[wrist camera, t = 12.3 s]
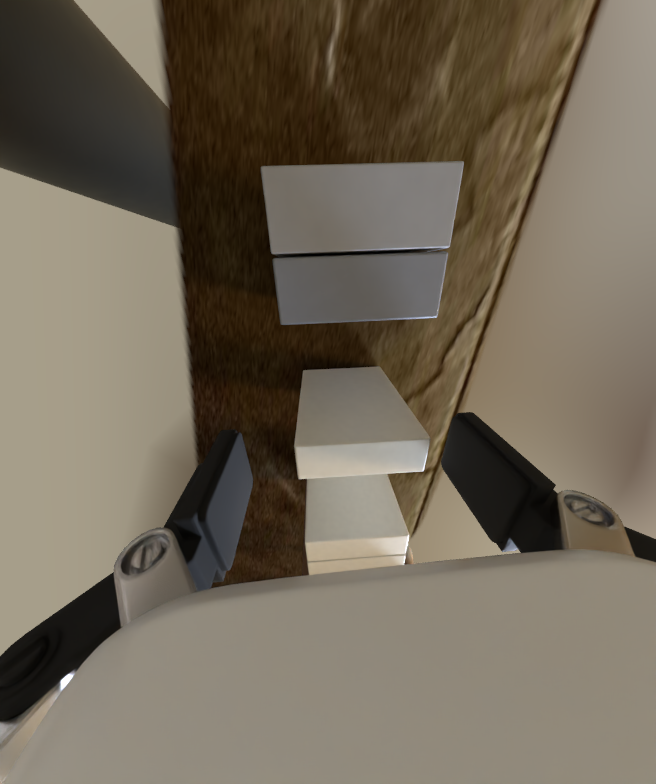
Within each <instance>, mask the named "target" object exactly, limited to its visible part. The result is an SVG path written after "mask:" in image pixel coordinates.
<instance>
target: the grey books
mask: <svg viewBox="0 0 656 784" xmlns="http://www.w3.org/2000/svg"><path fill="white" fill-rule="evenodd" d="M463 166H464V162H463V161H447V162H408V163H368V164H328V165H289V166H262V167H261V175H262V183H263V191H264V199H265V207H266V215H267V223H268V231H269V239H270V247H271V253H272V254H273V255H276V256H278V257H280V258H274V259H273V261H272V262H273V270H274V278H275V286H276V294H277V302H278V310H279V318H280V323H281V324H282V325H293V324H314V323H336V322H357V321H379V320H401V319H422V318H436V317H437V316H438V310H439V304H440V298H441V292H442V287H443V281H444V275H445V269H446V263H447V257H448V253H447V252H446V251H444V252H429V251H434V250H439V249H444V248H448V247H450V242H451V236H452V230H453V225H454V219H455V213H456V207H457V201H458V195H459V189H460V183H461V177H462V171H463Z"/></svg>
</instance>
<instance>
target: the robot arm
mask: <svg viewBox="0 0 656 784" xmlns="http://www.w3.org/2000/svg"><path fill="white" fill-rule="evenodd" d="M441 465H442V468H443V470H444V471H445V473H446V474H447V475H448V477H449V479H450V480H451V482H452V483H453V485H454V486H455V488H456V489H457V491H458V492H459V494H460V495H461V497H462V498H463V500H464V501H465V502H466V504H467V506H468V507H469V509H470V510H471V512H472V513H473V515H474V516H475V517H476V519H477V520H478V522H479V523H480V525H481V526H482V528H483V529H484V531H485V532H486V534H487V535H488V537H489V538H490V539H491V540H492V541H493V542H494V543H496V544H497V545H498V547H499V548H500V549H501V551H502V552H506V551H516V550H517V548H518V549H519V551H520V552H521V553H515V554H505V555H495V556H485V557H476V558H466V559H456V560H445V561H435V562H427V563H416V564H407V565H397V566H388V567H379V568H369V569H360V570H351V571H342V572H333V573H324V574H315V575H306V576H297V577H288V578H279V579H272V580H264V581H256V582H249V583H241V584H233V585H227V586H222V587H217V588H211V586H212V582H221V581H223V580H224V577H225V573H226V570H230V569H231V567H232V564H233V560H234V556H235V552H236V548H237V544H238V540H239V536H240V532H241V528H242V525H243V521H244V517H245V513H246V509H247V505H248V501H249V497H250V493H251V489H252V485H253V477H252V473H251V469H250V465H249V461H248V457H247V454H246V450H245V446H244V442H243V438H242V435H241V433H240V432H239V433H237V431H236V430H235V429H234V430H222V431H220V433H219V434H218V436H217V438H216V440H215V442H214V444H213V446H212V447H211V449H210V451H209V453H208V455H207V457H206V459H205V460H204V462H203V463H201V464H200V465H198V467H197V468H196V470H195V472H194V474H193V476H192V477H191V479H190V481H189V483H188V484H187V486H186V488H185V490H184V492H183V494H182V495H181V497H180V499H179V501H178V502H177V504H176V506H175V508H174V510H173V511H172V513H171V515H170V517H169V519H168V520H167V522H166V524H165V526H164V528H155V529H152V530H149V531H147V532H145V533H143V534H141V535H140V536H138V537H137V538H135V539H134V540H132V541H131V542H130V543H129V544H128V545H127V546H126V547H125V548H124V549H123V551H122V552H121V553H120V555H119V556H118V558H117V560H116V562H115V565H114V572H113V573H112V574H110V575H109V576H107V577H106V578H104V579H103V580H102V581H100V582H99V583H97V584H96V585H95V586H93V587H92V588H90V589H89V590H88V591H86V592H85V593H83V594H82V595H80V596H79V597H77V598H76V599H75V600H73V601H72V602H70V603H69V604H68V605H66V606H65V607H63V608H62V609H60V610H59V611H58V612H56V613H55V614H53V615H52V616H51V617H49V618H48V619H46V620H45V621H43V622H42V623H40V624H39V625H38V626H36V627H35V628H34V629H32V630H31V631H29V632H28V633H26V634H25V635H24V636H23V637H21V638H20V639H19V640H17V641H16V642H15V643H14V644H13V645H11V646H10V647H9V648H8V649H7V650H6V651H5V652H4V653H3V654H2V655H1V656H0V784H656V539H654V538H651V537H649V536H646V535H644V534H641V533H639V532H636V531H634V530H632V529H629V528H627V527H624V526H623V523H622V521H621V519H620V518H619V516H618V515H617V514H616V513H615V512H614V511H613V510H612V509H611V508H610V507H608V506H607V505H606V504H604V503H603V502H601V501H599V500H597V499H596V498H594V497H592V496H590V495H587V494H585V493H582V492H578V491H573V490H564V491H561V492H559V493H556V492H555V491H554V490H553V489H554V487H555V486H556V485H555V484H554V483H553V482H552V481H551V480H550V479H548V478H547V477H546V476H545V475H544V474H543V473H541V472H540V471H539V470H538V469H537V468H536V467H535V466H534V465H532V464H531V463H530V462H529V461H528V460H527V459H525V458H524V457H523V456H522V455H521V454H520V453H519V452H517V451H516V450H515V449H514V448H513V447H512V446H510V445H509V444H508V443H507V442H506V441H505V440H504V439H503V438H501V437H500V436H499V435H498V434H497V433H496V432H494V431H493V430H492V429H491V428H490V427H489V426H488V425H487V424H485V423H484V422H483V421H482V420H481V419H480V418H479V417H477V416H476V415H475V414H474V413H471V412H467V413H458V414H457V415H456V416H455V417H453V419H452V422H451V426H450V430H449V434H448V437H447V441H446V445H445V449H444V453H443V457H442V461H441Z"/></svg>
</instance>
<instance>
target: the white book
mask: <svg viewBox="0 0 656 784" xmlns="http://www.w3.org/2000/svg"><path fill="white" fill-rule="evenodd" d="M429 443H430V437H429V436H428V434H427V433H426V431H425V430H424V428H423V427H422V426H421V424H420V423H419V421H418V420H417V419H416V417H415V416H414V414H413V413H412V411H411V410H410V409H409V407H408V406H407V404H406V403H405V402H404V400H403V399H402V397H401V396H400V395H399V393H398V392H397V390H396V389H395V387H394V386H393V385H392V383H391V382H390V380H389V379H388V378H387V376H386V375H385V373H384V372H383V371H382V369H381V368H380V367H361V368H340V369H319V370H303V375H302V384H301V392H300V401H299V410H298V418H297V427H296V435H295V444H294V449H295V457H296V466H297V474H298V478H299V479H309V478H324V477H340V476H356V475H372V474H387V473H403V472H419V471H424V467H425V462H426V458H427V453H428V448H429Z"/></svg>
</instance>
